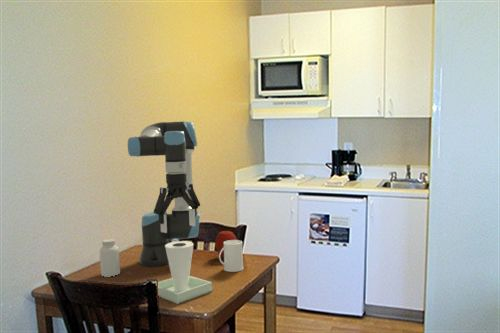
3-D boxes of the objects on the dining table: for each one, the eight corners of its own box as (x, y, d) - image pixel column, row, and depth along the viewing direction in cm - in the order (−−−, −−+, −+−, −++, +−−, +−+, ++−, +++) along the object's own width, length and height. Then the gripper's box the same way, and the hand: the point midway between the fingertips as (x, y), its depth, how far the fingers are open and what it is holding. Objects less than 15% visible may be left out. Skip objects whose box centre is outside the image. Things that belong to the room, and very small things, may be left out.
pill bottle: (114, 270, 224) (112, 237, 222) (123, 274, 218) (121, 240, 217) (97, 275, 218) (95, 240, 217) (106, 278, 213) (104, 243, 211)
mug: (224, 274, 213) (223, 246, 212) (213, 270, 220) (212, 243, 219) (247, 269, 220) (246, 242, 219) (236, 265, 227) (235, 238, 226)
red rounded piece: (225, 262, 232) (223, 232, 231) (211, 258, 239) (210, 229, 238) (241, 257, 239) (240, 228, 237) (228, 253, 246) (227, 225, 245)
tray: (150, 293, 193) (149, 284, 192) (184, 282, 205) (184, 273, 204) (177, 304, 181) (177, 294, 181) (212, 291, 193) (211, 282, 193)
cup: (170, 286, 198) (167, 241, 197) (197, 286, 198) (195, 240, 196) (164, 296, 188) (162, 248, 186) (193, 295, 188) (191, 248, 186)
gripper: (154, 177, 177) (157, 236, 179) (207, 169, 195) (210, 224, 197) (141, 175, 182) (144, 233, 184) (195, 168, 200) (197, 221, 202)
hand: (178, 228), depth 191 cm, fingers open, 13 cm apart
